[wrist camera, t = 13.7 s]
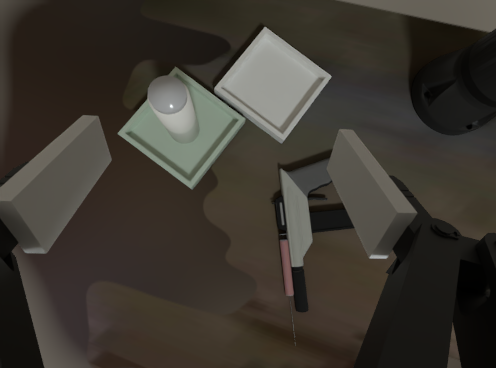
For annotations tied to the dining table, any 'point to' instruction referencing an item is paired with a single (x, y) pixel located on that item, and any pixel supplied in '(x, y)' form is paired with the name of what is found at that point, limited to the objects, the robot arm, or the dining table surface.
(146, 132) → the green tray
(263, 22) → the dining table surface
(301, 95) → the grey tray
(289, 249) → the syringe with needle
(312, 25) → the dining table surface
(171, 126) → the sugar shaker
